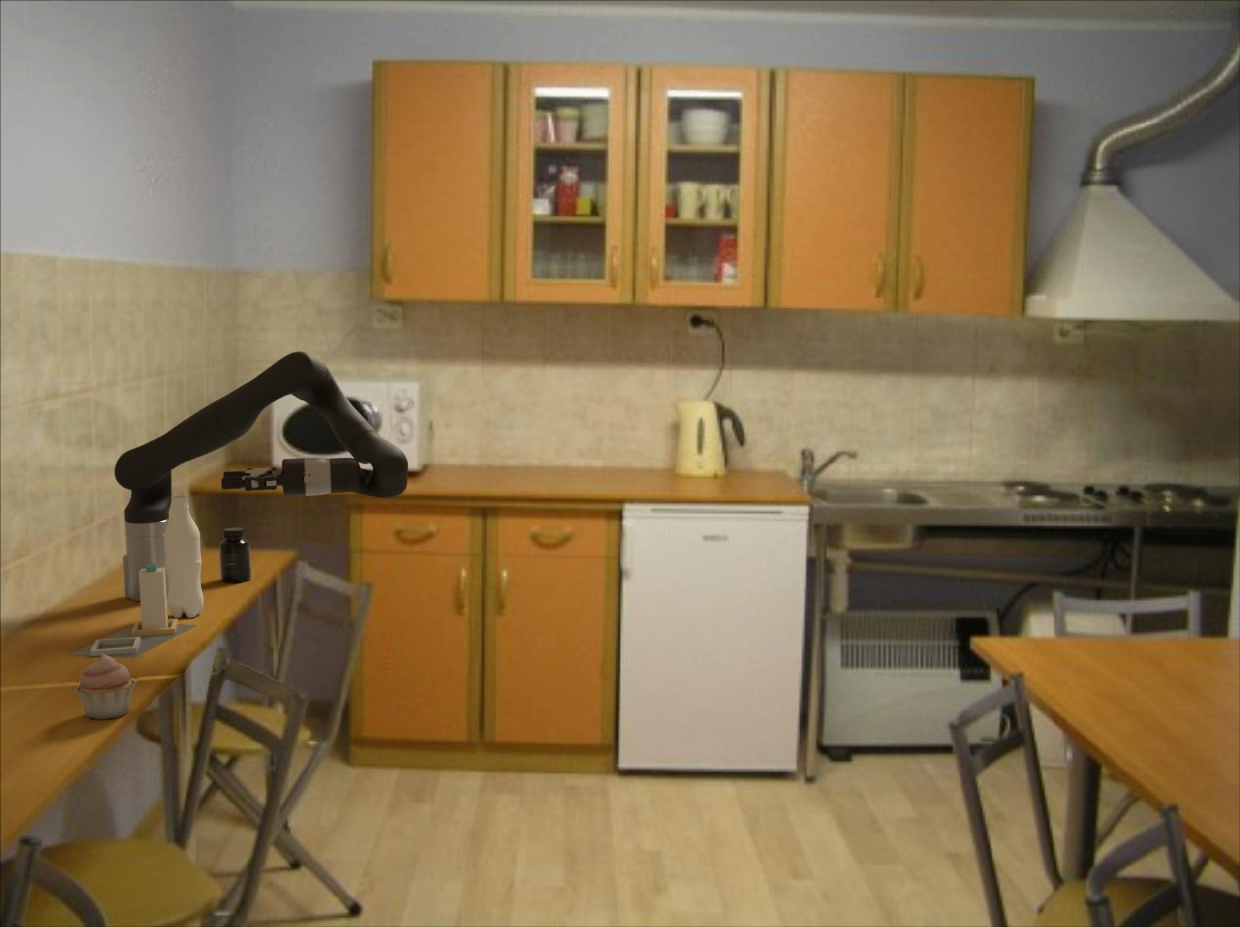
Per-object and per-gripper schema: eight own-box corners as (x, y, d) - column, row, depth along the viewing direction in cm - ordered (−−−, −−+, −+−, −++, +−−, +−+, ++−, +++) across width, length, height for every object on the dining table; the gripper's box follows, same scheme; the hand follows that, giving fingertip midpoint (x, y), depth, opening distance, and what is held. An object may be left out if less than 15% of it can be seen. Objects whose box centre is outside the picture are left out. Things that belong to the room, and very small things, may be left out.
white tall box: (142, 633, 271) (138, 568, 270) (144, 627, 276) (140, 563, 274) (166, 631, 273) (162, 567, 271) (168, 626, 277) (164, 562, 275)
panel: (68, 658, 257) (67, 649, 256) (140, 624, 281) (139, 617, 280) (132, 661, 254) (131, 652, 254) (199, 627, 278) (198, 619, 278)
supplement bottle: (257, 578, 322) (255, 528, 320) (235, 584, 316) (232, 532, 315) (237, 575, 326) (234, 525, 324) (214, 581, 320) (211, 530, 318)
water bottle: (193, 620, 284) (187, 500, 280) (161, 619, 285) (154, 499, 282) (210, 612, 291) (204, 494, 287) (179, 610, 292) (172, 493, 289)
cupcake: (90, 705, 229) (86, 646, 227) (146, 705, 228) (143, 646, 227) (66, 723, 219) (62, 662, 218) (124, 723, 219) (120, 662, 218)
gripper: (305, 453, 283) (222, 456, 279) (306, 462, 269) (219, 466, 265) (307, 490, 284) (224, 493, 280) (308, 501, 270) (221, 505, 266)
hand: (222, 480), depth 272 cm, fingers open, 8 cm apart
